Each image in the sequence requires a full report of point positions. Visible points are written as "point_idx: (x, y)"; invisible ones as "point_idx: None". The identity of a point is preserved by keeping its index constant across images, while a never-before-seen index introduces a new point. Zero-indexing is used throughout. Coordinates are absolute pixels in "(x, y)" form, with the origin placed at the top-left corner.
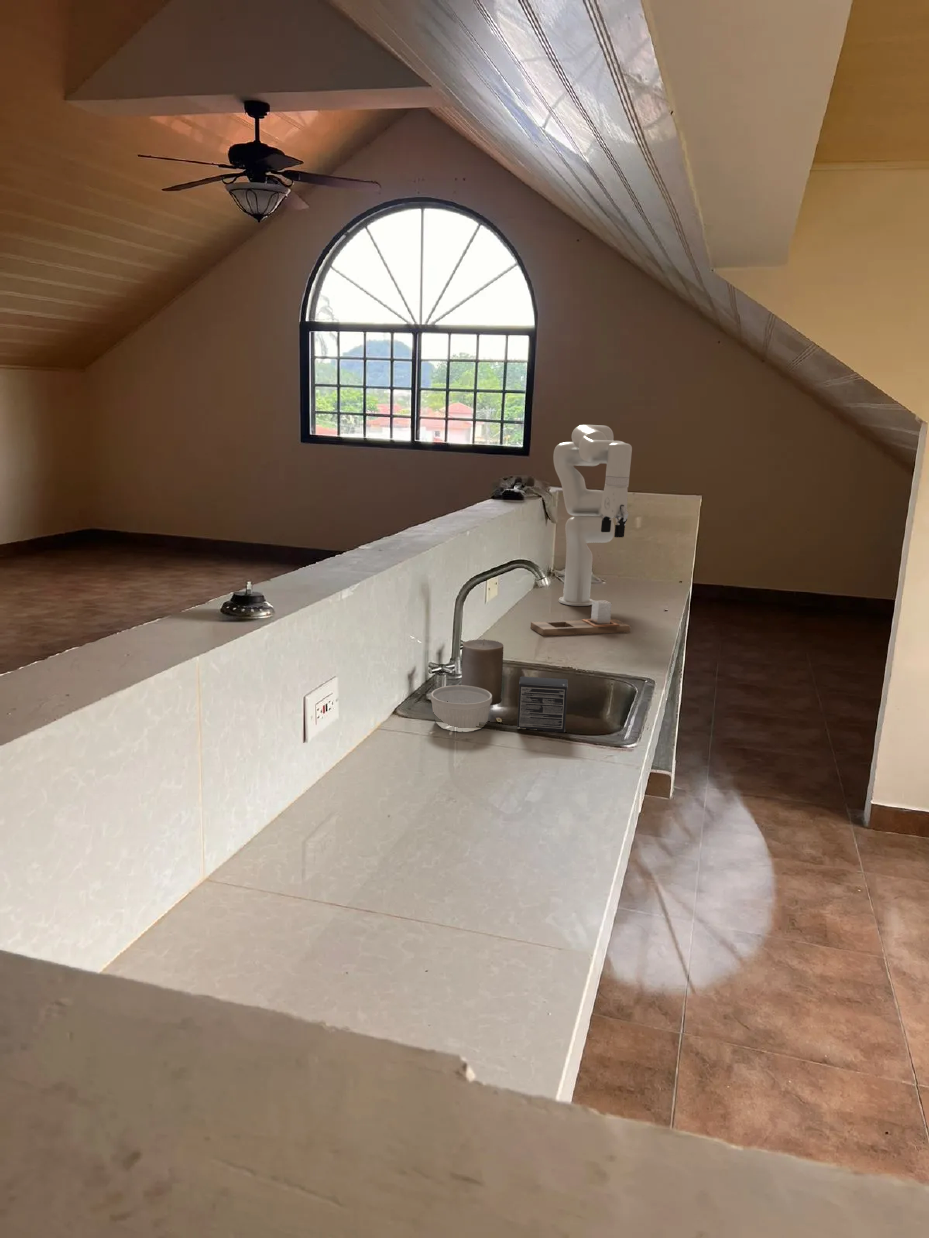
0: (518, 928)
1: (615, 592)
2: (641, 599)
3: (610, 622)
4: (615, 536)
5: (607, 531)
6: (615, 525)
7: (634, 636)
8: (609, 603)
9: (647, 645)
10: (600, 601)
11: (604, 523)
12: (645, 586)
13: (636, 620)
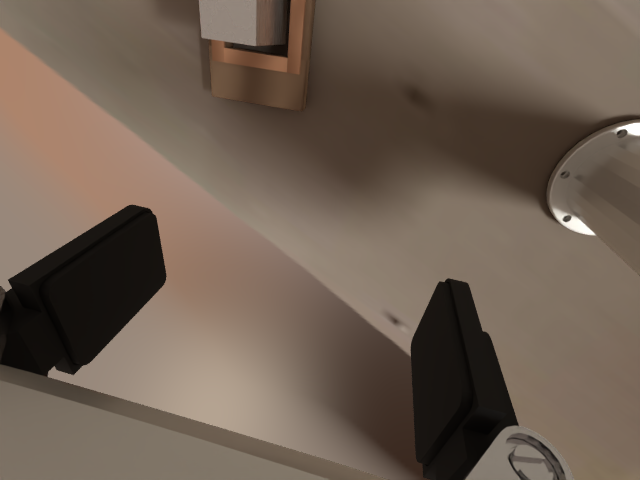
0: None
1: (622, 355)
2: (514, 350)
3: (250, 52)
4: (129, 209)
5: (419, 326)
6: (30, 278)
7: (174, 74)
8: (201, 27)
9: (81, 43)
10: (235, 5)
11: (445, 375)
12: (611, 433)
13: (333, 200)
